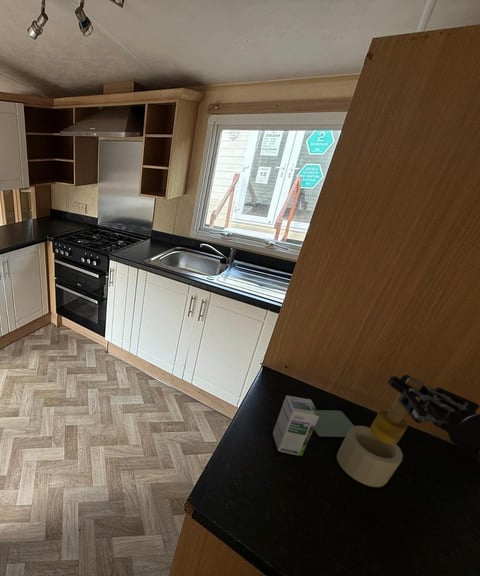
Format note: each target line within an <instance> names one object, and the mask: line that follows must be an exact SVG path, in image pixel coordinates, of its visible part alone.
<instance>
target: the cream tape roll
mask: <svg viewBox="0 0 480 576" xmlns="http://www.w3.org/2000/svg"><path fill="white" fill-rule="evenodd" d="M403 458H404V454H403V452H402V450H401V448H400V446H399V445H398V443H397V444H387V443H385V442H382V441H380V440H379V439H377V438H376V437H375V436H374V435H373V434H372V433H371V431H370V427H368V426H365V425H354V427H352V428H350V430H349V432H348V434H347V435H346V437H344V439H343V441H342V443H341V444H340V447H339V448H338V451H337V452H336V460H337V463H338V464H339V466H340V468H341V469H342V470H343V471H344V472H345V473H346V474H347V475H348V476H350V477H351V478H352V479H353V480H355V481H356V482H359V483H361V484H363V485H364V486H367V487H372V488H382V487H384V486H385V485H386V484H387V483H388V482H389V481H390V479H391V478H392V476H393V475H394V473H395V472H396V470H397V469H398V467H399V466H400V464H401V463H402V461H403Z"/></svg>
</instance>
